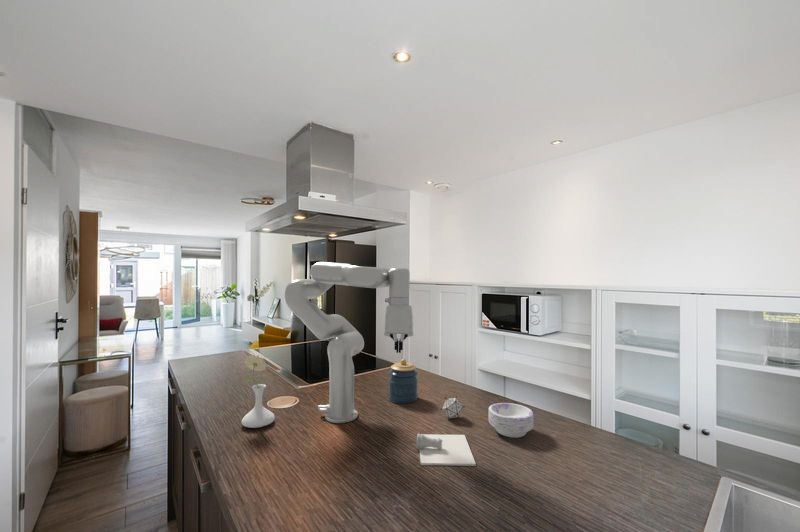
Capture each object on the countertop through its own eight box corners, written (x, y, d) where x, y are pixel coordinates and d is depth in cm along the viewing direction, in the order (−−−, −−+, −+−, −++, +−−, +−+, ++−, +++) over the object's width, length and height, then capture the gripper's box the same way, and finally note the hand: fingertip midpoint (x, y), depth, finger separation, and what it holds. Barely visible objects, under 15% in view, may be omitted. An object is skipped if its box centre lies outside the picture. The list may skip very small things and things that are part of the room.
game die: (456, 429, 132) (464, 415, 126) (435, 419, 134) (442, 404, 128) (461, 410, 139) (469, 396, 134) (441, 401, 141) (448, 386, 135)
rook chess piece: (417, 429, 111) (442, 433, 110) (416, 442, 112) (441, 445, 111) (416, 438, 107) (442, 442, 106) (415, 451, 108) (441, 455, 107)
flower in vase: (281, 421, 129) (282, 354, 130) (257, 433, 119) (258, 361, 120) (256, 414, 135) (257, 350, 135) (230, 426, 125) (232, 356, 125)
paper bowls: (501, 419, 133) (501, 398, 133) (540, 432, 122) (540, 409, 122) (480, 431, 122) (480, 409, 123) (520, 447, 112) (520, 422, 112)
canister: (383, 401, 150) (384, 360, 150) (395, 392, 162) (395, 354, 162) (411, 406, 145) (412, 364, 146) (421, 396, 157) (422, 357, 158)
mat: (420, 465, 101) (420, 462, 101) (417, 435, 119) (418, 434, 119) (475, 465, 100) (475, 463, 100) (464, 436, 118) (464, 434, 118)
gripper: (378, 302, 123) (377, 354, 123) (419, 302, 123) (419, 354, 122) (379, 300, 130) (378, 349, 130) (418, 301, 130) (418, 350, 130)
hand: (398, 351), depth 126 cm, fingers closed
